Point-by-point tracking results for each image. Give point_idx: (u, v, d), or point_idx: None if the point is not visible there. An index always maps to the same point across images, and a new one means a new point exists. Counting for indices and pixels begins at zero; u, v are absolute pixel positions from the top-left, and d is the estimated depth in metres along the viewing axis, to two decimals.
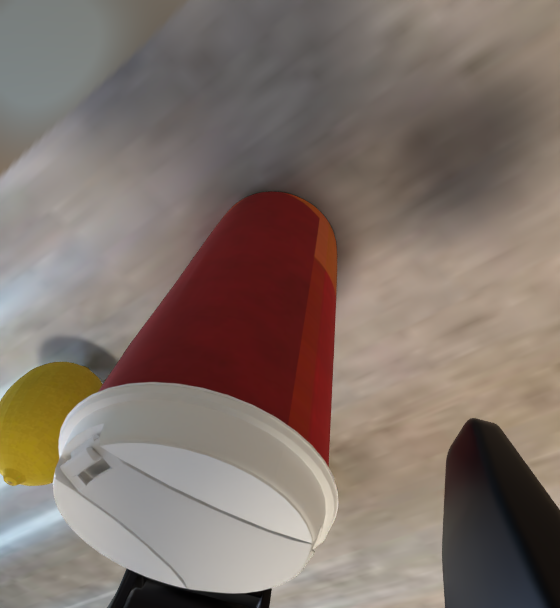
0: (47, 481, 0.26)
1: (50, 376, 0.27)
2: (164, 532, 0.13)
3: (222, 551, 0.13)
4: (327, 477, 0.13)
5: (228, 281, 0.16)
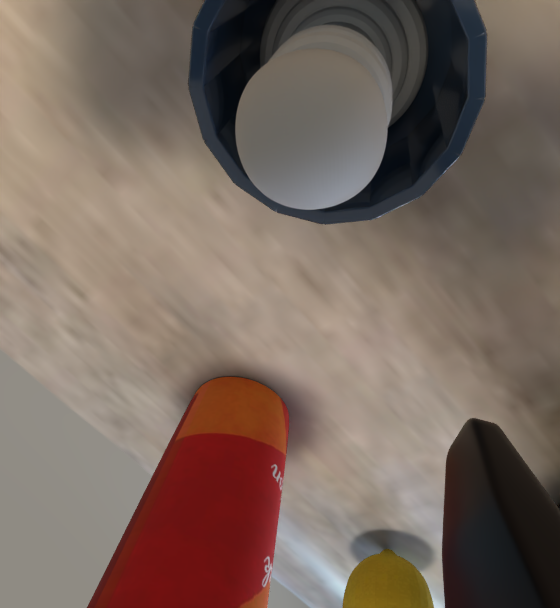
0: None
1: (345, 591, 0.32)
2: None
3: None
4: None
5: None
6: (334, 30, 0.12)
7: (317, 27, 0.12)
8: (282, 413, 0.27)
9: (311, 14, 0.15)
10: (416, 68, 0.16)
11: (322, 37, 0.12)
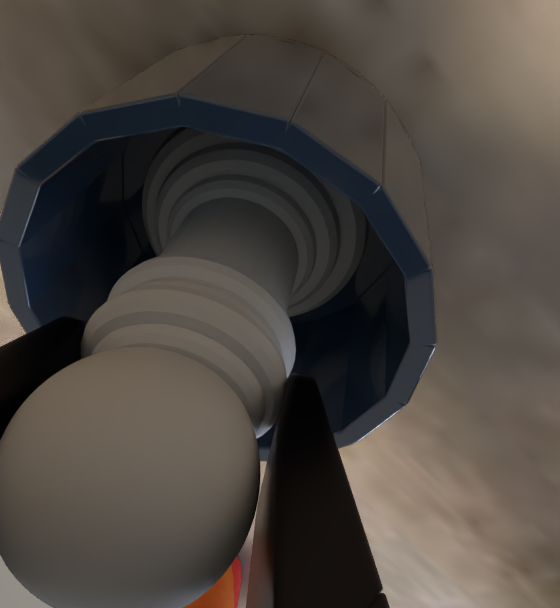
0: None
1: None
2: None
3: None
4: None
5: None
6: (192, 268, 0.08)
7: (167, 261, 0.08)
8: (230, 570, 0.23)
9: (196, 184, 0.10)
10: (352, 243, 0.11)
11: (159, 304, 0.07)
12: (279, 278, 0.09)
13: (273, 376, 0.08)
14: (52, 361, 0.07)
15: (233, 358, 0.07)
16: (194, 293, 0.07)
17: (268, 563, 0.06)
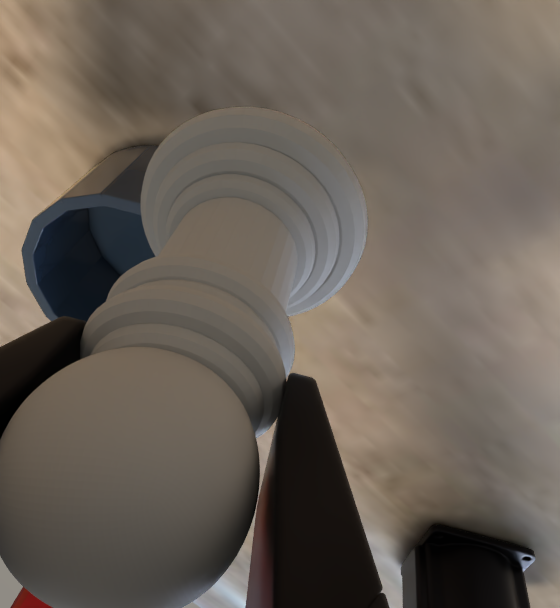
0: None
1: None
2: None
3: None
4: None
5: None
6: (191, 268, 0.08)
7: (166, 261, 0.08)
8: None
9: (195, 184, 0.10)
10: (351, 242, 0.11)
11: (158, 304, 0.07)
12: (278, 278, 0.09)
13: (272, 376, 0.08)
14: (52, 361, 0.07)
15: (232, 358, 0.07)
16: (193, 293, 0.07)
17: (268, 563, 0.06)
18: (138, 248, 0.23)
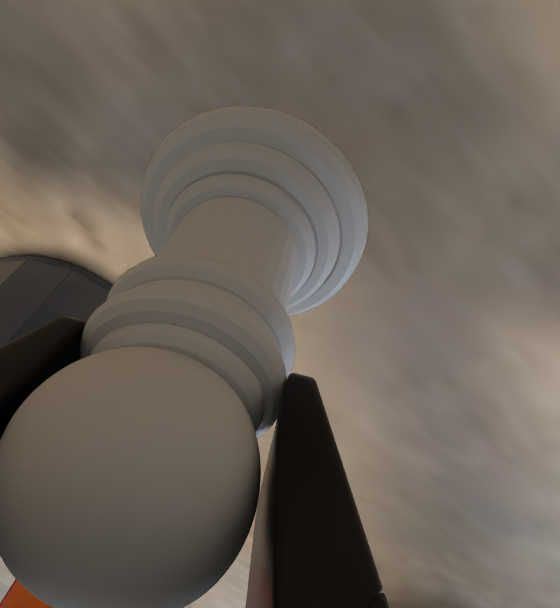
0: None
1: None
2: None
3: None
4: None
5: None
6: (191, 268, 0.08)
7: (167, 260, 0.08)
8: None
9: (195, 183, 0.10)
10: (352, 242, 0.11)
11: (158, 303, 0.07)
12: (278, 277, 0.09)
13: (273, 375, 0.08)
14: (52, 361, 0.07)
15: (233, 358, 0.07)
16: (194, 292, 0.07)
17: (268, 563, 0.06)
18: None
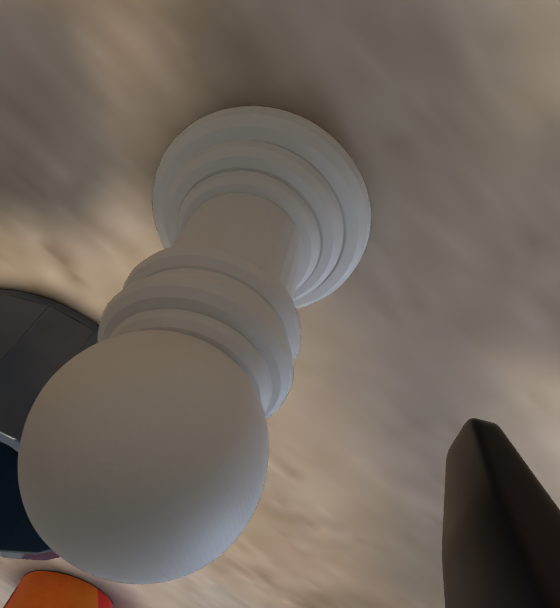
0: None
1: None
2: None
3: None
4: None
5: None
6: (204, 258, 0.08)
7: (181, 251, 0.08)
8: (96, 607, 0.28)
9: (205, 179, 0.11)
10: (355, 237, 0.12)
11: (174, 290, 0.08)
12: (285, 269, 0.10)
13: (280, 359, 0.08)
14: None
15: (243, 341, 0.08)
16: (207, 280, 0.08)
17: None
18: None
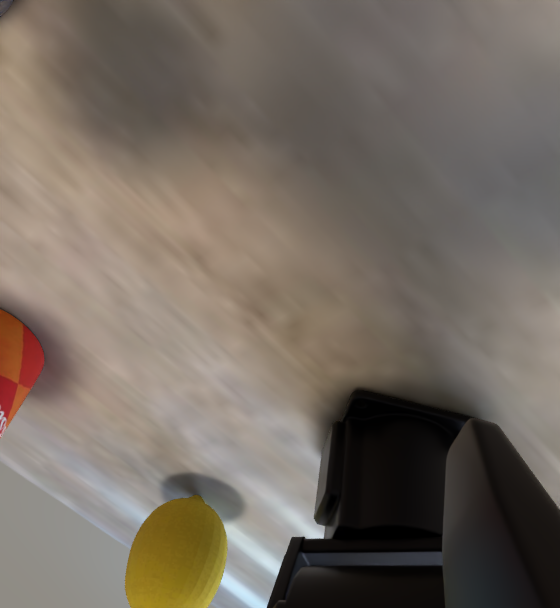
0: None
1: None
2: None
3: None
4: None
5: None
6: None
7: None
8: (20, 339, 0.25)
9: None
10: None
11: None
12: None
13: None
14: None
15: None
16: None
17: None
18: None
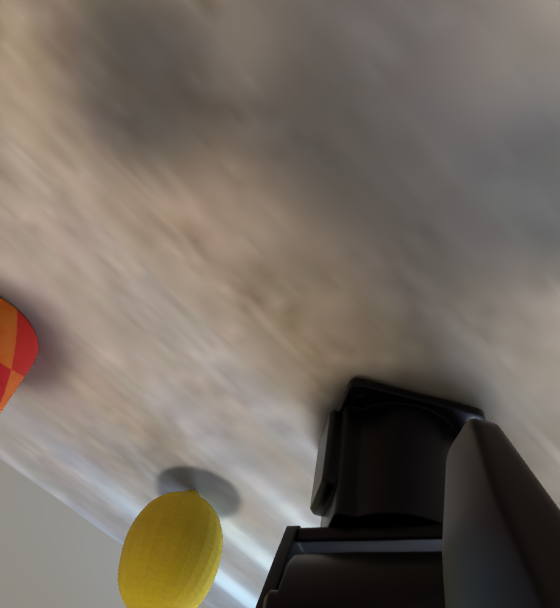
0: (165, 602, 0.26)
1: None
2: None
3: None
4: None
5: None
6: None
7: None
8: (14, 325, 0.25)
9: None
10: None
11: None
12: None
13: None
14: None
15: None
16: None
17: None
18: None
